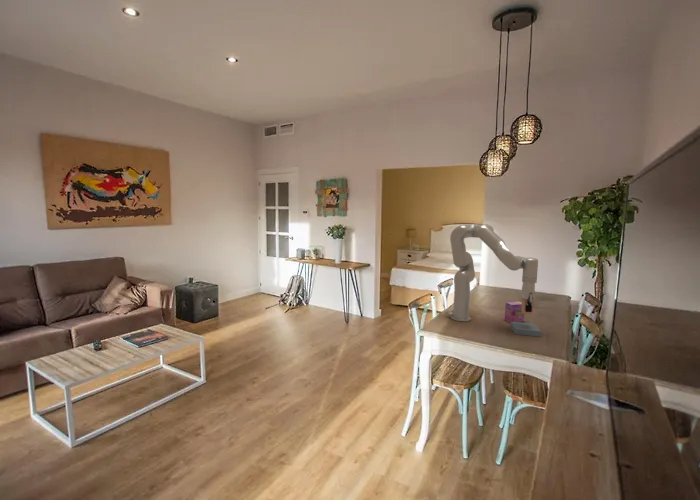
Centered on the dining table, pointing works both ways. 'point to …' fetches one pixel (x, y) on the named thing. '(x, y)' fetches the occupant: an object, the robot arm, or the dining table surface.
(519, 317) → the box
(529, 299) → the block
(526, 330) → the base
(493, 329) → the dining table surface
